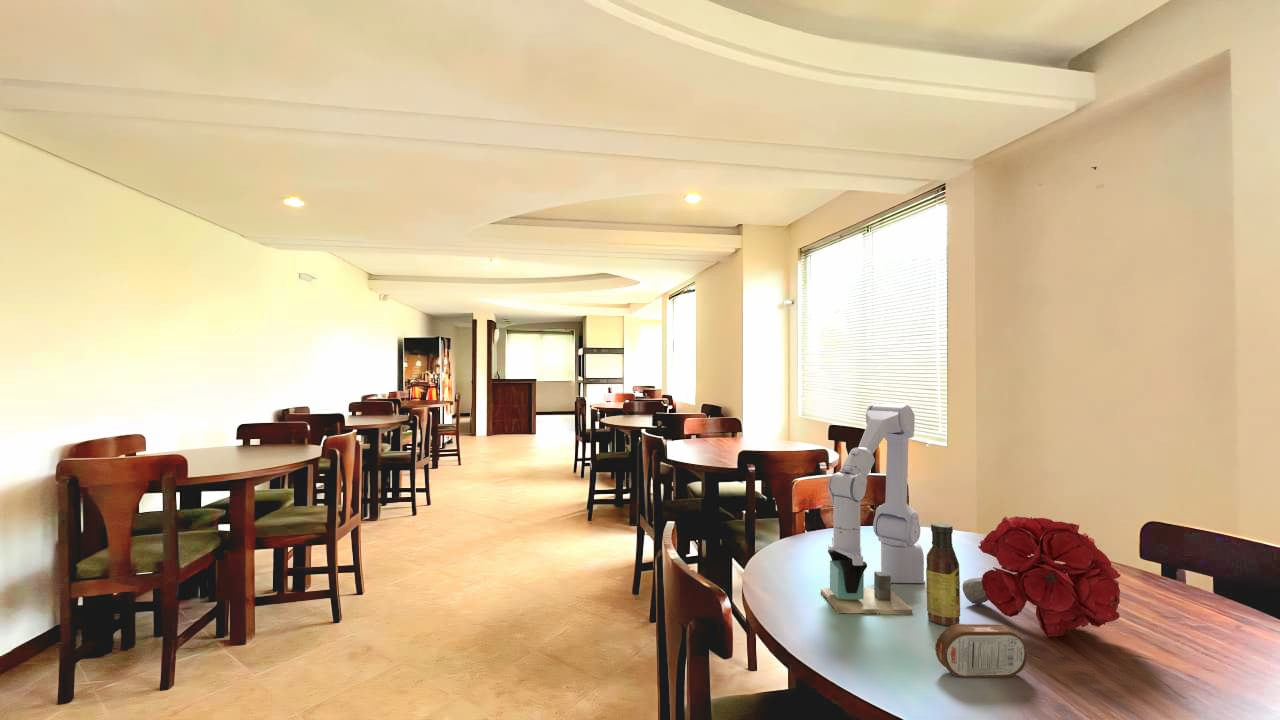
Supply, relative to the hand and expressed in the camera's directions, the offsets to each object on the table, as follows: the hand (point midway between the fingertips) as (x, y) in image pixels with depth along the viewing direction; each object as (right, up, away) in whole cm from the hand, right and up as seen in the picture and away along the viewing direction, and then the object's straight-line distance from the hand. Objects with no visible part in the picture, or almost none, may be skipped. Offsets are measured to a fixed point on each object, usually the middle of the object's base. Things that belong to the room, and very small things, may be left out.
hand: (846, 587), depth 132 cm
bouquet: (+35, -4, -11) cm, 37 cm away
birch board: (+4, -3, 0) cm, 5 cm away
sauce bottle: (+17, -4, -9) cm, 20 cm away
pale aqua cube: (0, -2, 0) cm, 2 cm away
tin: (+12, -3, -31) cm, 34 cm away
